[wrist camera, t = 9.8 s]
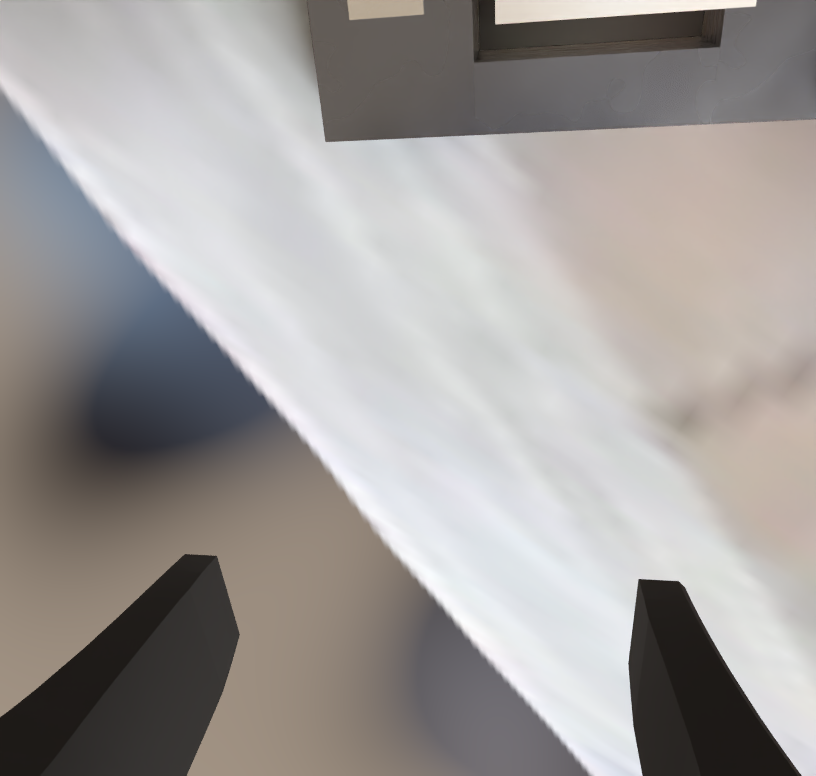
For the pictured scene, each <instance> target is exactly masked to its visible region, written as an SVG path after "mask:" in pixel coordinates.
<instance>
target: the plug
mask: <svg viewBox="0 0 816 776" xmlns="http://www.w3.org/2000/svg"><path fill="white" fill-rule="evenodd" d="M756 2H757V0H495V24H509V23H523V22H538V21H552V20H567V19H581V18H596V17H610V16H625V15H639V14H654V13H668V12H682V11H697V10H711V9H726V8H740V7H755V6H756Z"/></svg>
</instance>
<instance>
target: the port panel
mask: <svg viewBox="0 0 816 776" xmlns="http://www.w3.org/2000/svg"><path fill="white" fill-rule="evenodd" d="M307 5H308V13H309V20H310V28H311V35H312V43H313V50H314V58H315V65H316V73H317V81H318V88H319V96H320V103H321V111H322V118H323V126H324V134H325V141H326V142H335V141H357V140H378V139H400V138H422V137H443V136H465V135H486V134H508V133H529V132H551V131H573V130H594V129H616V128H637V127H659V126H681V125H702V124H724V123H745V122H767V121H788V120H810V119H816V0H757V2H756V6H755V7H740V8H726V9H711V10H705V11H704V19H703V27H702V36H695V37H680V38H665V39H650V40H635V41H619V42H604V43H589V44H574V45H559V46H544V47H528V48H513V49H498V50H483V51H480V33H479V0H307Z"/></svg>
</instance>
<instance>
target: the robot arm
mask: <svg viewBox="0 0 816 776" xmlns="http://www.w3.org/2000/svg"><path fill="white" fill-rule="evenodd" d="M239 635H240V634H239V631H238V627H237V624H236V621H235V617H234V613H233V610H232V607H231V603H230V600H229V596H228V593H227V589H226V586H225V582H224V579H223V576H222V572H221V569H220V565H219V562H218V558H217V556H208V555H190V554H185V555H184V556H182V557H181V558H180V559H179V560H178V561H177V562H176V563H175V564H174V565H173V566H172V567H171V568H170V569H168V570H167V571H166V572H165V573H164V574H163V575H162V576H161V577H160V578H159V579H158V580H157V581H156V582H155V583H154V584H153V585H152V586H151V587H149V588H148V589H147V590H146V591H145V592H144V593H143V594H142V595H141V596H140V597H139V598H138V599H137V600H136V601H135V602H134V603H133V604H131V605H130V607H128V608H127V609H126V610H125V611H124V612H123V613H122V614H121V615H120V616H119V617H118V618H117V619H116V620H114V621H113V622H112V623H111V624H110V625H109V626H108V627H107V628H106V629H105V630H104V631H102V633H100V634H99V635H98V636H97V637H96V638H95V639H94V640H93V641H92V642H90V644H88V645H87V646H86V647H85V648H84V649H83V650H82V651H80V652H79V653H78V654H77V655H76V656H75V657H73V658H72V659H71V660H70V661H69V662H68V663H66V664H65V665H64V666H63V667H62V668H61V669H59V670H58V671H57V672H56V673H55V674H54V675H52V676H51V677H50V678H49V679H48V680H47V681H45V682H44V683H43V684H42V685H41V686H39V687H38V688H37V689H36V690H35V691H34V692H32V693H31V694H30V695H29V696H27V697H26V698H25V699H23V700H22V701H21V702H20V703H18V704H17V705H16V706H15V707H14V708H12V709H11V710H9V711H8V712H7V713H6V714H4V715H3V716H1V717H0V776H187V773H188V771H189V769H190V767H191V764H192V762H193V760H194V757H195V755H196V753H197V750H198V748H199V746H200V744H201V741H202V739H203V737H204V734H205V732H206V730H207V727H208V725H209V723H210V721H211V718H212V716H213V713H214V711H215V709H216V707H217V704H218V702H219V699H220V697H221V695H222V692H223V689H224V686H225V683H226V680H227V677H228V673H229V670H230V667H231V664H232V660H233V657H234V653H235V649H236V646H237V642H238V639H239ZM628 664H629V677H630V690H631V702H632V714H633V725H634V731H635V737H636V743H637V748H638V753H639V759H640V764H641V769H642V775H643V776H801V774H800V773H799V772H798V770H797V769H796V767H795V766H794V765H793V763H792V762H791V761H790V759H789V758H788V756H787V755H786V754H785V752H784V751H783V749H782V748H781V747H780V745H779V744H778V742H777V741H776V740H775V738H774V737H773V735H772V734H771V732H770V731H769V730H768V728H767V727H766V725H765V724H764V722H763V721H762V719H761V718H760V716H759V715H758V713H757V712H756V710H755V709H754V707H753V706H752V704H751V702H750V701H749V699H748V698H747V696H746V695H745V693H744V692H743V690H742V688H741V687H740V685H739V684H738V682H737V681H736V679H735V678H734V676H733V674H732V673H731V671H730V669H729V668H728V666H727V665H726V663H725V661H724V660H723V658H722V656H721V654H720V653H719V651H718V649H717V648H716V646H715V644H714V642H713V641H712V639H711V637H710V635H709V634H708V632H707V630H706V628H705V626H704V624H703V623H702V621H701V619H700V617H699V615H698V613H697V611H696V609H695V607H694V605H693V603H692V601H691V599H690V597H689V595H688V593H687V591H686V589H685V587H684V586H683V585H682V584H681V583H680V582H679V581H663V580H645V579H639V580H638V589H637V597H636V605H635V613H634V622H633V630H632V638H631V646H630V655H629V663H628Z"/></svg>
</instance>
